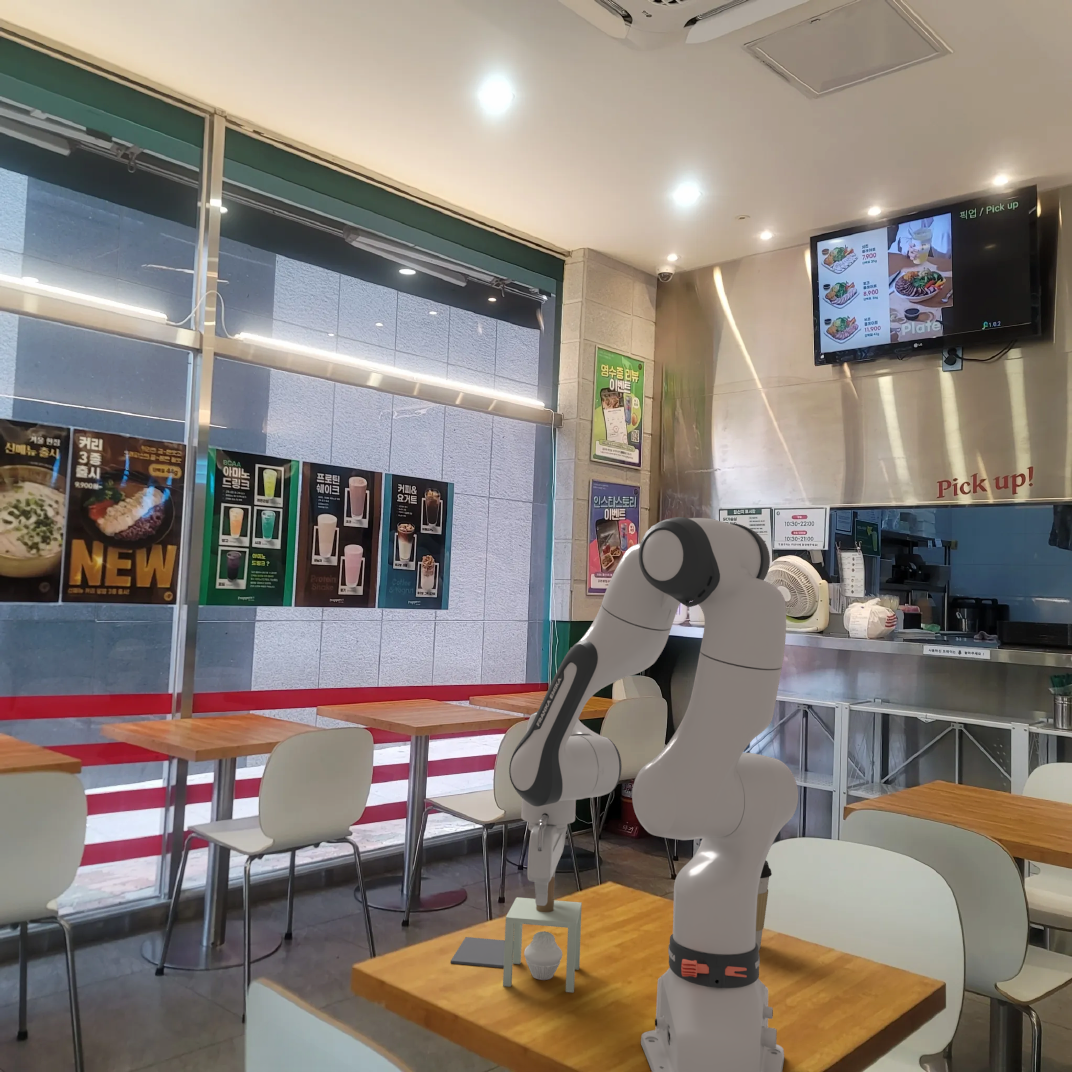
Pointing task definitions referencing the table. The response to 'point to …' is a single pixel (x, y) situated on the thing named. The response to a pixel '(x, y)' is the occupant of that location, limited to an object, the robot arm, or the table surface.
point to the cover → (545, 916)
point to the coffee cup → (762, 902)
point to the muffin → (543, 956)
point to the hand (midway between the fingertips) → (544, 896)
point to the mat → (480, 952)
